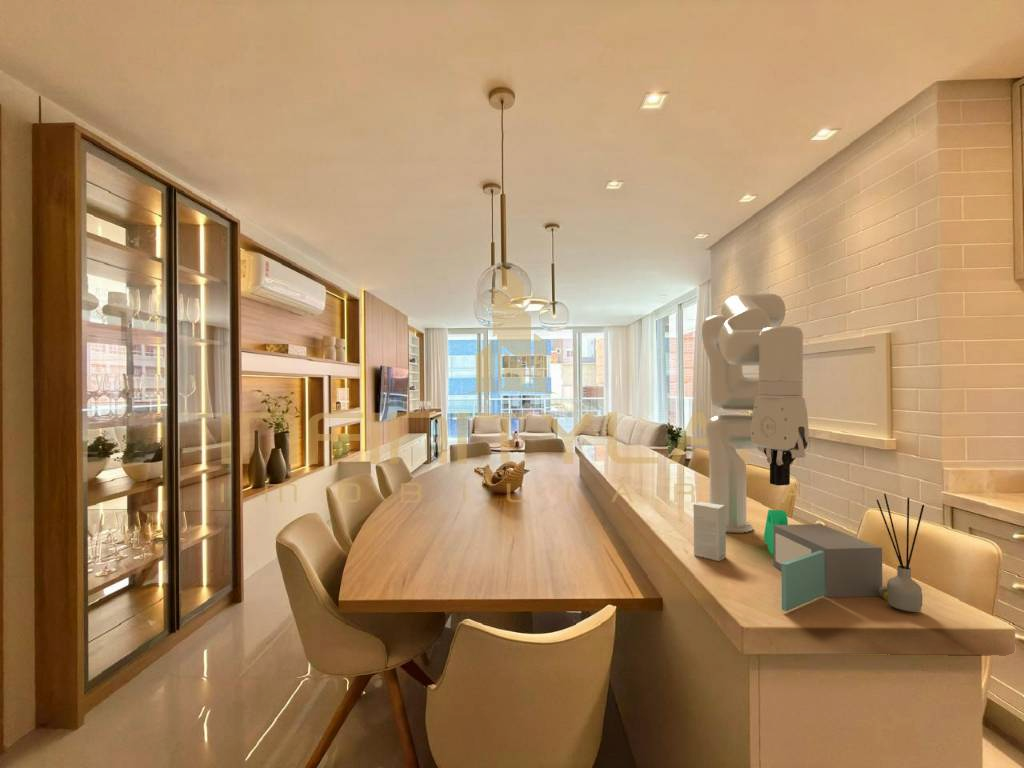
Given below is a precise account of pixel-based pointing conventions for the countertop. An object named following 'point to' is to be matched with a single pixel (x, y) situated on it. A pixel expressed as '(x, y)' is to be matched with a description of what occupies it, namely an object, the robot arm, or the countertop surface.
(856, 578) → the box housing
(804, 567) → the side door
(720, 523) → the skincare box
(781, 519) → the camera mount
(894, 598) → the reed diffuser
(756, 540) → the countertop surface
